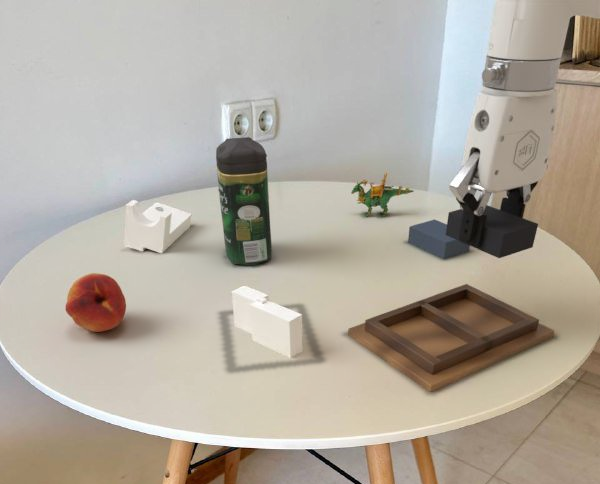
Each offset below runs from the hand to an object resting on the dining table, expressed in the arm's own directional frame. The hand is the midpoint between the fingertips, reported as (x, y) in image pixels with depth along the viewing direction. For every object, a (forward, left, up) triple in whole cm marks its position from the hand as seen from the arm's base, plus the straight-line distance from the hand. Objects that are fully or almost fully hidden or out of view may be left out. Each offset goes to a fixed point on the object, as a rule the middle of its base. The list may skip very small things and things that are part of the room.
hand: (489, 236), depth 74 cm
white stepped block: (+25, -14, -13) cm, 31 cm away
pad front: (-15, -23, -13) cm, 30 cm away
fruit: (+43, -29, -13) cm, 53 cm away
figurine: (-17, -41, -13) cm, 46 cm away
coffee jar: (+14, -39, -13) cm, 43 cm away
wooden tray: (+5, 0, -13) cm, 14 cm away
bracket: (+23, -55, -13) cm, 61 cm away
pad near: (0, 0, -1) cm, 1 cm away
